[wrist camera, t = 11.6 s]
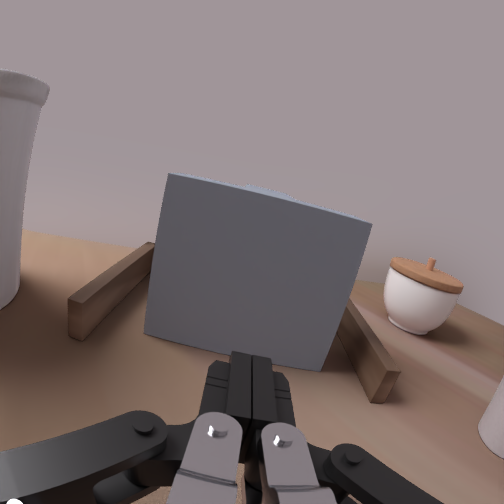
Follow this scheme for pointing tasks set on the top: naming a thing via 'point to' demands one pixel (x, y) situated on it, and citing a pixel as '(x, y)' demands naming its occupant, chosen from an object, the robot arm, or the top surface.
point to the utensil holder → (15, 167)
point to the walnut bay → (139, 265)
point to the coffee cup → (494, 423)
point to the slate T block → (251, 271)
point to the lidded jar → (419, 295)
